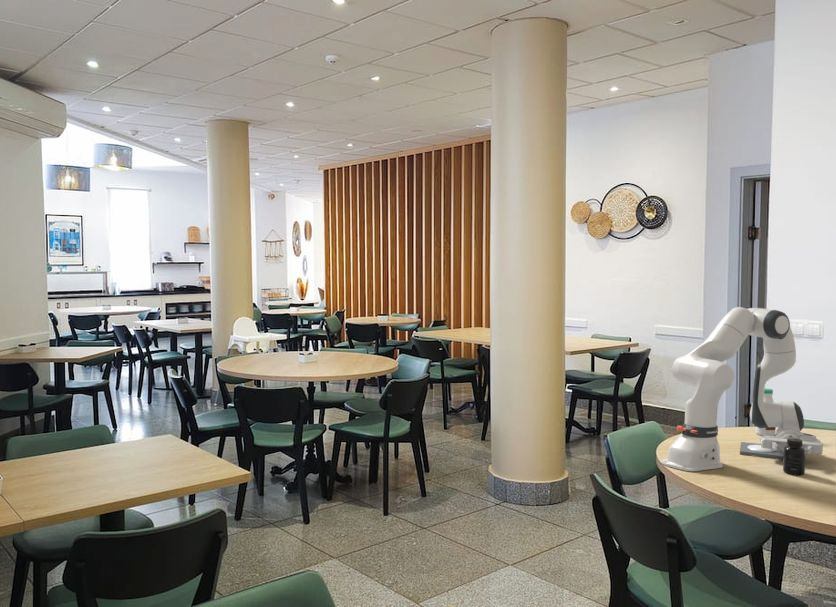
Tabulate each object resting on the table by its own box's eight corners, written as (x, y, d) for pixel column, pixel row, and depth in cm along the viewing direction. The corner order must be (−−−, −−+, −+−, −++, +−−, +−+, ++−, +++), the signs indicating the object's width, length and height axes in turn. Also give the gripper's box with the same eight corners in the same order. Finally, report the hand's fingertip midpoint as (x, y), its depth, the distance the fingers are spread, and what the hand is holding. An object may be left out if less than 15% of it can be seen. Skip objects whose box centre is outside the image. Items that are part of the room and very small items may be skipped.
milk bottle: (757, 436, 299) (759, 390, 298) (753, 432, 306) (755, 387, 305) (777, 437, 297) (779, 391, 296) (772, 433, 304) (774, 388, 303)
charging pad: (786, 459, 263) (786, 456, 262) (739, 454, 270) (739, 450, 270) (785, 449, 277) (785, 446, 277) (740, 444, 284) (741, 441, 284)
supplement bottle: (783, 469, 250) (784, 436, 250) (805, 472, 247) (806, 438, 246) (782, 474, 244) (783, 440, 244) (804, 477, 241) (805, 443, 240)
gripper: (760, 429, 269) (761, 437, 256) (820, 435, 260) (824, 444, 248) (759, 445, 269) (760, 454, 257) (819, 452, 261) (823, 461, 248)
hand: (792, 449), depth 252 cm, fingers open, 8 cm apart
